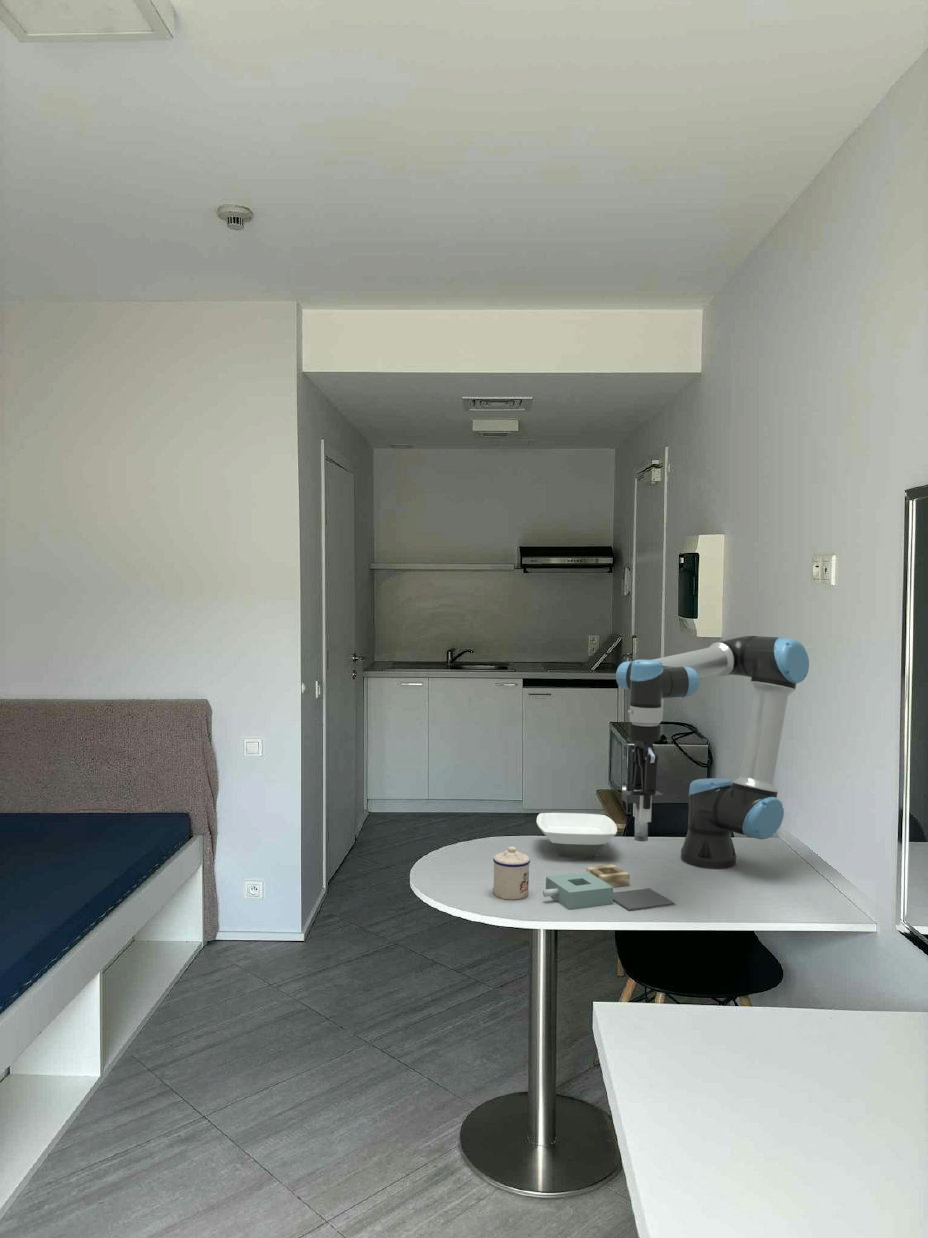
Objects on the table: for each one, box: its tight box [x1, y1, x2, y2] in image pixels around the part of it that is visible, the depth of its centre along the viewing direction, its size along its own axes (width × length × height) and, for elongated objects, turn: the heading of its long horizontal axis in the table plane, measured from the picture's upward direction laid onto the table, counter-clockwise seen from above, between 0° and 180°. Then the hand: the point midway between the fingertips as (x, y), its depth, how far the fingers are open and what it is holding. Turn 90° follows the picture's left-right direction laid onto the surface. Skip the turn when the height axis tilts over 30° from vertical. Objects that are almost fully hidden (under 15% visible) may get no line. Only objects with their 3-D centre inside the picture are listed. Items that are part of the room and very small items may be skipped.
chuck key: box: [621, 790, 664, 843], centre depth 216 cm, size 4×9×12 cm, turn 97°
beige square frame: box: [586, 864, 631, 888], centre depth 230 cm, size 8×8×3 cm
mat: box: [613, 887, 676, 912], centre depth 217 cm, size 13×11×1 cm
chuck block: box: [542, 871, 614, 910], centre depth 217 cm, size 16×12×4 cm
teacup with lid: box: [492, 846, 531, 901], centre depth 220 cm, size 12×9×12 cm
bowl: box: [536, 812, 618, 858], centre depth 255 cm, size 22×23×8 cm
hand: (641, 818), depth 216 cm, fingers closed on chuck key, 4 cm apart
